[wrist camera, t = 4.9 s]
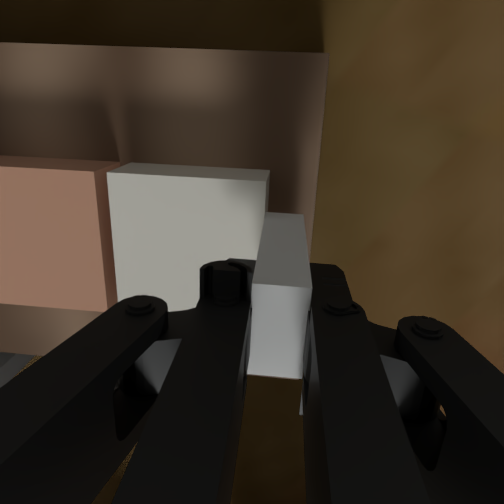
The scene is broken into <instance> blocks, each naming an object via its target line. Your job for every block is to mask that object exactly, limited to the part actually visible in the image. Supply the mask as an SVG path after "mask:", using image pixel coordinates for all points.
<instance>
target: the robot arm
mask: <svg viewBox="0 0 504 504" xmlns="http://www.w3.org/2000/svg"><path fill="white" fill-rule="evenodd" d="M303 369H304V377H303V386H302V395H301V403H300V412H299V415H303V430H304V454H305V479H306V503H307V504H504V374H503V373H502V372H500V371H499V370H498V369H497V368H496V367H495V366H494V365H493V364H491V363H490V362H489V361H488V360H487V359H486V358H485V357H484V356H483V355H481V354H480V353H479V352H478V351H477V350H476V349H475V348H474V347H472V346H471V345H470V344H469V343H468V342H467V341H466V340H465V339H464V338H462V337H461V336H460V335H459V334H458V333H457V332H456V331H455V330H453V329H452V328H451V327H449V326H448V325H446V324H445V323H442V322H440V321H437V320H436V319H434V318H431V317H429V318H428V317H426V316H409V317H404V318H402V319H401V320H399V322H398V326H397V330H396V329H392V328H388V327H384V326H380V325H377V324H374V323H372V322H370V321H368V320H367V317H366V314H365V311H364V310H363V308H362V307H361V306H360V305H358V304H357V303H355V302H354V301H353V300H352V297H351V294H350V291H349V288H348V284H347V281H346V278H345V275H344V272H343V271H342V270H341V269H340V268H339V267H337V266H336V265H331V264H318V263H309V256H308V248H307V240H306V232H305V224H304V216H303V214H289V213H274V212H266V213H265V218H264V223H263V229H262V234H261V239H260V244H259V249H258V254H257V260H249V259H236V258H229V259H227V260H219V261H213V262H209V263H206V264H204V265H203V266H202V267H201V268H200V298H199V300H198V303H197V305H196V307H195V308H191V309H188V310H181V311H171V312H168V306H167V303H166V302H165V301H164V300H163V299H161V298H158V297H155V296H148V295H141V296H140V295H135V296H133V297H129V298H125V299H123V300H121V301H119V302H117V303H116V304H114V305H113V306H112V307H110V308H109V309H108V310H106V311H105V312H104V313H102V314H101V315H99V316H98V317H97V318H95V319H94V320H93V321H91V322H90V323H88V324H87V325H86V326H84V327H83V328H82V329H80V330H79V331H77V332H76V333H75V334H73V335H72V336H71V337H69V338H68V339H66V340H65V341H64V342H62V343H61V344H60V345H58V346H57V347H55V348H54V349H53V350H51V351H50V352H49V353H47V354H46V355H44V356H43V357H42V358H40V359H39V360H38V361H36V362H35V363H33V364H32V365H31V366H29V367H28V368H27V369H25V370H24V371H23V372H21V373H20V374H18V375H17V376H16V377H14V378H13V379H12V380H10V381H9V382H7V383H6V384H5V385H3V386H2V387H1V388H0V504H91V503H92V501H93V500H94V499H95V497H96V496H97V495H98V493H99V492H100V491H101V489H102V488H103V487H104V485H105V484H106V483H107V481H108V480H109V479H110V477H111V476H112V475H113V474H114V472H115V471H116V470H117V468H118V467H119V466H120V464H121V463H122V462H123V460H124V459H125V458H126V456H127V455H128V454H129V452H130V451H131V450H132V448H133V447H134V446H135V444H136V443H137V442H138V443H137V445H136V447H135V450H134V452H133V454H132V457H131V459H130V461H129V464H128V466H127V468H126V471H125V473H124V475H123V478H122V480H121V482H120V485H119V487H118V489H117V492H116V494H115V496H114V499H113V501H112V503H111V504H230V501H231V494H232V487H233V479H234V472H235V465H236V458H237V451H238V444H239V436H240V429H241V422H242V415H243V408H244V400H245V393H246V386H247V374H254V375H264V376H276V377H286V378H297V379H302V376H303ZM441 405H442V407H443V408H444V411H445V414H446V416H445V415H444V414H443V413H442V412H441V410H440V406H441Z"/></svg>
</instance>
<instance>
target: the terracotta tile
mask: <svg viewBox="0 0 504 504" xmlns="http://www.w3.org/2000/svg"><path fill="white" fill-rule="evenodd" d="M119 167H120V162H113V161H95V160H77V159H59V158H40V157H22V156H4V155H0V303H2V304H14V305H25V306H37V307H49V308H61V309H73V310H85V311H97V312H105V311H106V310H108V309H109V308H110V307H112V306H113V305H114V304H115V303H116V302H117V301H118V297H117V285H116V274H115V263H114V251H113V240H112V229H111V217H110V206H109V195H108V183H107V172H109V171H111V170H114V169H116V168H119Z"/></svg>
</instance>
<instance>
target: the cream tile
mask: <svg viewBox="0 0 504 504" xmlns="http://www.w3.org/2000/svg"><path fill="white" fill-rule="evenodd" d="M269 180H270V170H260V169H241V168H223V167H205V166H187V165H169V164H151V163H133V162H131V163H129V164H126V165H124V166H121V167H119V168H116V169H114V170H111V171H109V172H107V183H108V195H109V206H110V217H111V229H112V240H113V251H114V263H115V274H116V285H117V297H118V302H119V301H121V300H123V299H125V298H129V297H133V296H135V295H140V296H141V295H148V296H155V297H158V298H161V299H163V300H164V301H165V302H166V303H167V306H168V312H171V311H181V310H188V309H191V308H195V307H196V305H197V303H198V300H199V298H200V268H201V267H202V266H203V265H204V264H206V263H209V262H213V261H219V260H227V259H229V258H236V259H249V260H257V254H258V249H259V244H260V239H261V234H262V229H263V223H264V218H265V213H266V212H268V199H269Z"/></svg>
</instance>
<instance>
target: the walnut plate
mask: <svg viewBox="0 0 504 504" xmlns="http://www.w3.org/2000/svg"><path fill="white" fill-rule="evenodd" d="M328 64H329V53H310V52H280V51H249V50H219V49H188V48H158V47H127V46H97V45H66V44H36V43H5V42H0V155H4V156H22V157H40V158H59V159H77V160H95V161H113V162H120V167H121V166H124V165H126V164H129V163H131V162H133V163H151V164H169V165H187V166H205V167H223V168H241V169H260V170H270V180H269V199H268V212H274V213H289V214H303V216H304V224H305V232H306V240H307V248H308V256H309V262H310V251H311V241H312V230H313V220H314V210H315V199H316V189H317V178H318V168H319V157H320V147H321V137H322V126H323V116H324V105H325V95H326V84H327V74H328ZM117 302H118V301H117ZM117 302H116V303H117ZM116 303H115V304H116ZM102 313H104V312H97V311H85V310H73V309H61V308H49V307H37V306H25V305H14V304H2V303H0V352H6V353H17V354H27V355H38V356H44V355H46V354H47V353H49V352H50V351H51V350H53V349H54V348H55V347H57V346H58V345H60V344H61V343H62V342H64V341H65V340H66V339H68V338H69V337H71V336H72V335H73V334H75V333H76V332H77V331H79V330H80V329H82V328H83V327H84V326H86V325H87V324H88V323H90V322H91V321H93V320H94V319H95V318H97V317H98V316H99V315H101V314H102ZM247 375H253V376H264V375H254V374H247ZM264 377H275V378H285V379H296V380H298V379H297V378H286V377H276V376H264Z"/></svg>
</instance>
